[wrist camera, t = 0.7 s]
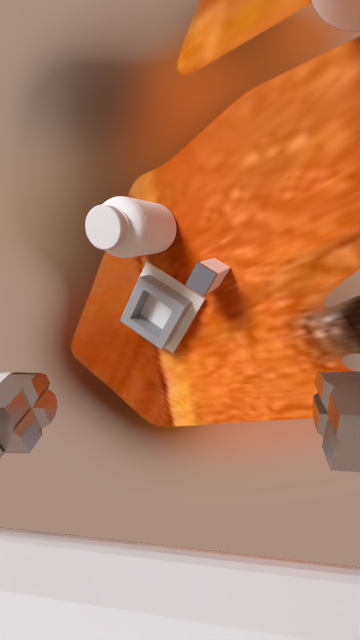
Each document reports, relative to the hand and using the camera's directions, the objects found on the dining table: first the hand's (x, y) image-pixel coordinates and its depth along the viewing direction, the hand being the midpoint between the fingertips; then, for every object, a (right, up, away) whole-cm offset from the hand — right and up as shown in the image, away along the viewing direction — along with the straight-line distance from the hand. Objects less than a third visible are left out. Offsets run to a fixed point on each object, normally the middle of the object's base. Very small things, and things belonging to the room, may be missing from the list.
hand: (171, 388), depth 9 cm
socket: (-3, +4, +43) cm, 43 cm away
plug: (+6, +10, +38) cm, 39 cm away
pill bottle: (-4, +17, +40) cm, 44 cm away
